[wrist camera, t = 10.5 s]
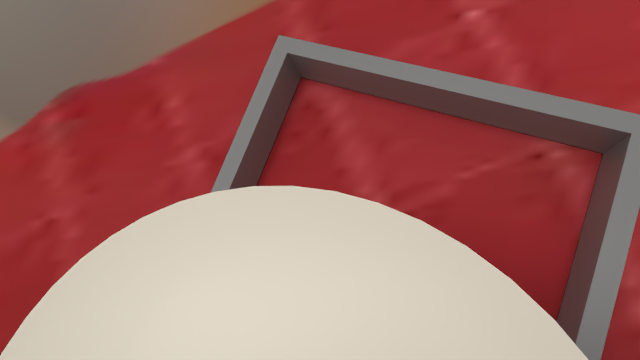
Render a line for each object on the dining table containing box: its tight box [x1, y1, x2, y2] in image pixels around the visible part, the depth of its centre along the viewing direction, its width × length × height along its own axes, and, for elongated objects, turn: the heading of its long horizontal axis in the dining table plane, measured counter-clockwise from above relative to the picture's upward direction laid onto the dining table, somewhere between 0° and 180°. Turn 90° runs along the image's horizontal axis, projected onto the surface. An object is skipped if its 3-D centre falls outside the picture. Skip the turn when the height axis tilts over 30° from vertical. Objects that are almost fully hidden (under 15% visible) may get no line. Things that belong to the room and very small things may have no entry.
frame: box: [211, 35, 640, 360], centre depth 21 cm, size 20×20×3 cm
